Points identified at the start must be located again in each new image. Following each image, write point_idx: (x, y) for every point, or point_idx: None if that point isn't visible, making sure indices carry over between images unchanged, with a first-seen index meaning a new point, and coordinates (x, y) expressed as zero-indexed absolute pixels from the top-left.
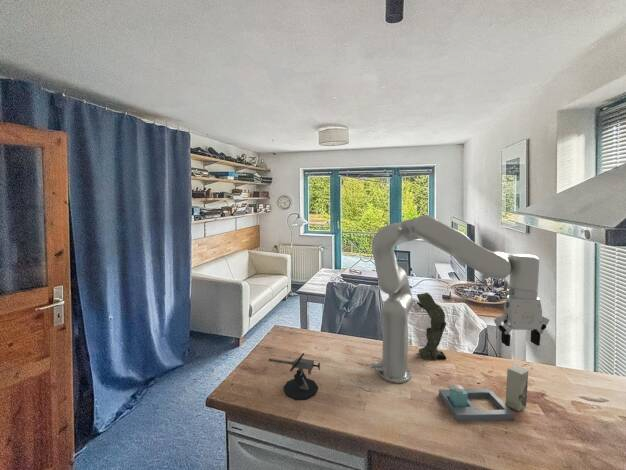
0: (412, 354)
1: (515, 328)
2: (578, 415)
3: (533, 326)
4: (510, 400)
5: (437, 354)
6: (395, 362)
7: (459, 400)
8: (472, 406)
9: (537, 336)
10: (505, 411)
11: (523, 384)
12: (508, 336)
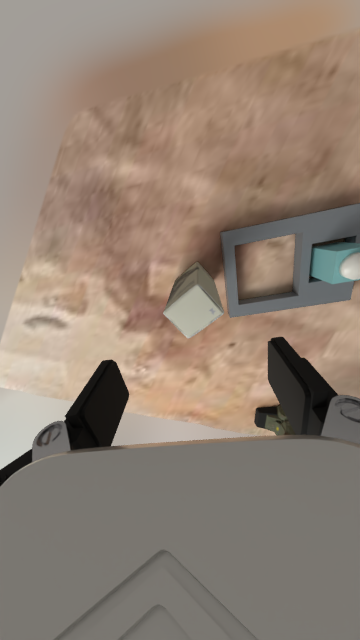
0: None
1: (349, 449)
2: (88, 270)
3: (89, 489)
4: (209, 277)
5: (277, 416)
6: None
7: (347, 245)
8: (306, 245)
9: (91, 400)
10: (237, 238)
11: (186, 283)
12: (317, 379)
